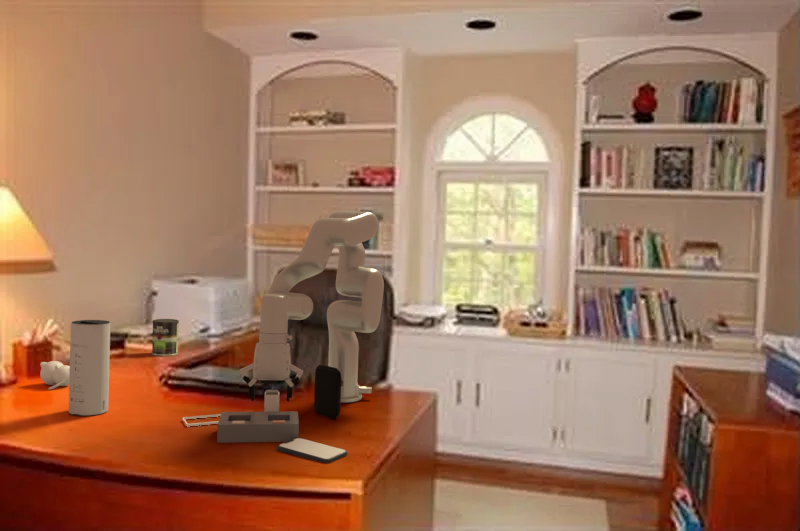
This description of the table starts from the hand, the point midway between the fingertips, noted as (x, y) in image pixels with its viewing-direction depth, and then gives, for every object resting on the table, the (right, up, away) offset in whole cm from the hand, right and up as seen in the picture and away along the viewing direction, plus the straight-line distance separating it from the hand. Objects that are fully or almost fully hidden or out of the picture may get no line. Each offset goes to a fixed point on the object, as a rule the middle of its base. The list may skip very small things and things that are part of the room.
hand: (270, 400), depth 189 cm
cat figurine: (-76, -2, +33) cm, 83 cm away
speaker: (-52, -4, +4) cm, 52 cm away
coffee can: (-62, 0, +94) cm, 113 cm away
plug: (0, -6, +1) cm, 6 cm away
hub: (-1, -7, -12) cm, 14 cm away
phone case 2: (+15, -9, -24) cm, 29 cm away
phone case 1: (-16, -6, -1) cm, 17 cm away
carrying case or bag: (+15, -7, +8) cm, 18 cm away
